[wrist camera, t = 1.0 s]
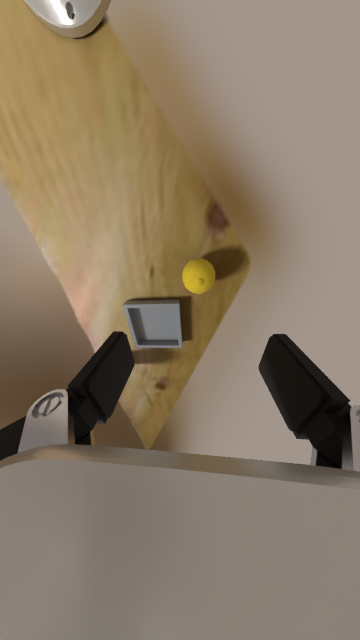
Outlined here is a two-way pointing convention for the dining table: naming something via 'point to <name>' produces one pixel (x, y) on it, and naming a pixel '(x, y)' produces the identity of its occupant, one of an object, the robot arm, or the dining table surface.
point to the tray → (155, 323)
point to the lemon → (198, 275)
